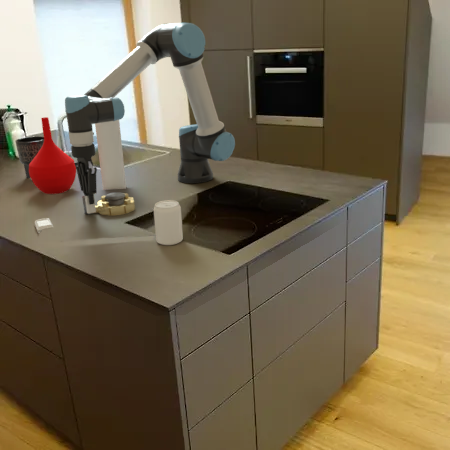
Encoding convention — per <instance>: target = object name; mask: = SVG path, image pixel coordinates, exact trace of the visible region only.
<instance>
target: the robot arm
mask: <svg viewBox="0 0 450 450" xmlns="http://www.w3.org/2000/svg"><path fill="white" fill-rule="evenodd" d="M205 46H206V38H205V34H204V32H203V30H202V29H201V28H200V27H199V26H198V25H196V24H195V23H193V22H171V23H163V24H160V25H158V26H155V28H152V30H151V31H148V33H147V34H145V35H144V36H143V37H142V38H141V39H139V41H138V42H137V43H136V48H134V49H133V50H131V52H130V53H128V55H126V56H125V57H124V58H123V59H122V60H121V61H120V62H119V63H118V64H116V65H115V66H114V67H113V68H111V70H110V71H109V72H107V73H106V74H105V76H104V77H102V78H101V79H100V80H99V81H98V82H96V83H95V84H94V85H93V86H92V87H91V88H90V89H89V90H88V91H86V92H85V93H84V94H74V95H68V96H66V97H65V99H64V106H65V107H64V109H65V115H66V122H67V127H68V138H69V143H70V145H71V146H70V150H71V155H72V158H75V159H76V162H75V167H76V175H77V178H78V182H79V186H80V190H81V191H82V193H83V194H84V195H85V202H86V209H87V213H88V214H87V215H91V214H90V213H92V214H95V213H94V212H96V207H95V206H96V202H95V194H97V173H98V169H97V166H96V167H95V166H94V162H93V159H92V157H94V156H95V155H96V148H95V147H96V146H95V144H94V141H95V140H94V139H95V138H94V135H95V132H94V131H93V125H95V124H96V123H102V122H109V121H116V120H119V121H120V120H122V119H124V116H125V111H126V110H125V103H124V102H123V101H122V99H120V98H119V97H116V96H117V95H119V93H120V92H122V91H123V90H124V89H125V88H126V87H127V86H128V85H130V84H131V83H132V82H133V81H134V79H136V78H137V77H138V76H140V74H142V72H143V71H144V70H146V68H148V67H149V66H150V65H155V64H157V62H159V61H160V60H162V59H164V58H170V60H171V63H172V65H173V68H175V69H177V70H179V73H180V76H181V80H182V83H183V86H184V89H185V91H186V96H187V98H188V101H189V105H190V107H191V109H192V113H193V117H194V119H195V122H196V124H188V125H183V126H181V127H180V128H179V129H178V141H179V152H180V154H179V155H180V164H179V167H178V171H177V181H179V182H181V183H186V184H201V183H205V182H206V183H207V182H210V181H212V180H213V178H214V173H213V170H212V167H211V164H210V162H209V160H212V161H215V162H216V161H217V162H224V161H226V160H228V159H229V158H230V157H231V156H232V155H233V153H234V152H233V151H234V150H235V146H236V141H235V137H234V135H233V134H232V133H231V132H228V131H227V130H226V127H225V124H224V122H222V121H220V120H219V116H218V113H217V110H216V107H215V104H214V100H213V96H212V93H211V89H210V87H209V84H208V80H207V78H206V74H205V70H204V68H203V67H204V66H203V64H202V62H203V59H204V51H205V49H206V48H205ZM84 195H83V196H84Z"/></svg>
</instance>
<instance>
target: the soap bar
mask: <svg viewBox="0 0 450 450" xmlns="http://www.w3.org/2000/svg"><path fill="white" fill-rule="evenodd" d="M34 226H35V228H36V232H37V234H38V235H41V232H42V231H43V230H45V229H49V228H54V225H53V223H52V221H51V219H50V218H49V217H45V218H39V219H35V221H34Z"/></svg>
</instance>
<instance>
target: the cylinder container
mask: <svg viewBox="0 0 450 450" xmlns="http://www.w3.org/2000/svg"><path fill="white" fill-rule="evenodd" d="M94 125H95V127H94V128H95V136H96V143H97V149H98V150H97V151H98V152H97V153H98V157H99V158H98V159H99V166H100V175H101V176H100V177H101V184H102V190H103V191H110V190H126V189H127V181H126V172H125V163H124V161H125V160H124V152H123V143H122V135H121V126H120V125H121V124H120V120H116V121H109V122H102V123H96V124H94Z"/></svg>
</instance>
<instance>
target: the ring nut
mask: <svg viewBox="0 0 450 450" xmlns="http://www.w3.org/2000/svg"><path fill="white" fill-rule="evenodd" d="M123 193H124V194H125V197H124V204H121V205H112V206H111V205H109V202H108V200H107V199H106V198H105V195H101V196H100V200H98V201H97V205H95V207H96V212H94V213H90V214H88V213H87V209H86V202H85V195H82V196H81V198H82V205H83V211H84V215H92V214H99V215H103V216H109V217H110V216H112V217H113V216H120V215H126V214H127V215H128V214H129V213H131V212H133V211H135V210H136V205H135V200H134V197H132V196H129V193H125V192H123Z"/></svg>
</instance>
